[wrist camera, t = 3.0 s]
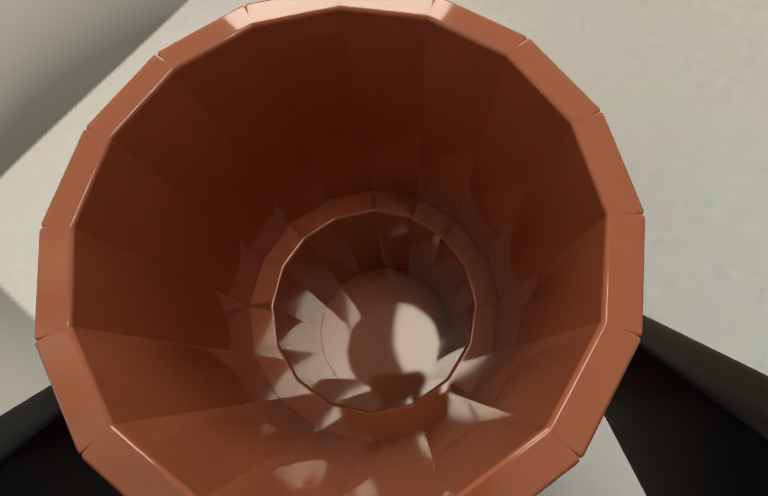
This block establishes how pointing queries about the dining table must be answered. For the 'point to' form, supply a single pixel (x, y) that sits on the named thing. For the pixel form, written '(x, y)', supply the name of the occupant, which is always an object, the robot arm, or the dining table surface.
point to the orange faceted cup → (341, 261)
